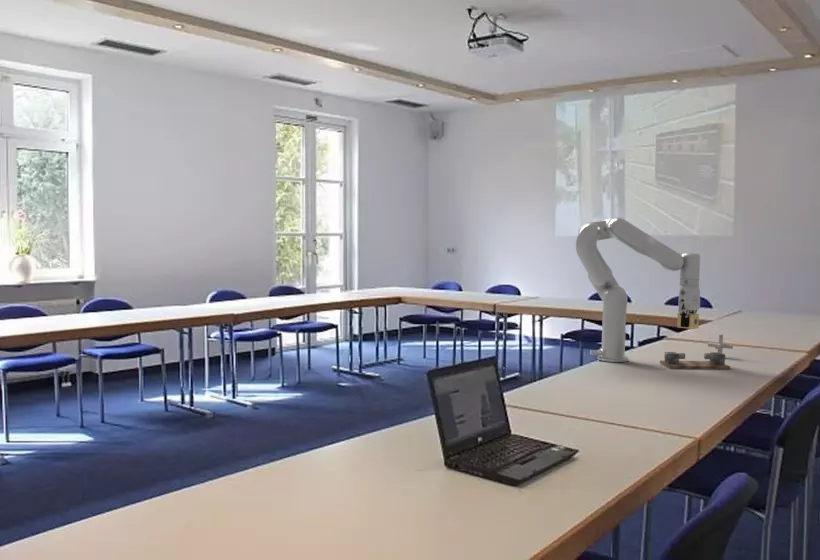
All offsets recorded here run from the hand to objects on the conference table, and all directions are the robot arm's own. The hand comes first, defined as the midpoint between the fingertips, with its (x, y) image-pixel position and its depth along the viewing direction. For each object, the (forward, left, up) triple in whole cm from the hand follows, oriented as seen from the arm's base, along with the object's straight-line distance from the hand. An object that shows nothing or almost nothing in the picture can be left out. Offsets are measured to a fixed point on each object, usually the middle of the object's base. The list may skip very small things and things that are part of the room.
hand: (687, 326), depth 309 cm
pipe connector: (+20, +15, -16) cm, 30 cm away
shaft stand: (0, -8, -15) cm, 18 cm away
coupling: (0, 0, -1) cm, 1 cm away
